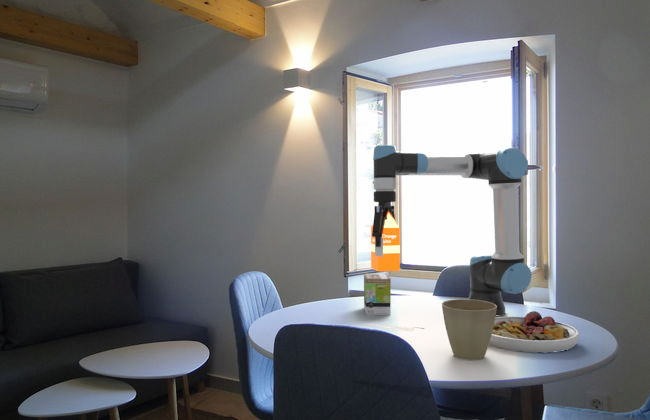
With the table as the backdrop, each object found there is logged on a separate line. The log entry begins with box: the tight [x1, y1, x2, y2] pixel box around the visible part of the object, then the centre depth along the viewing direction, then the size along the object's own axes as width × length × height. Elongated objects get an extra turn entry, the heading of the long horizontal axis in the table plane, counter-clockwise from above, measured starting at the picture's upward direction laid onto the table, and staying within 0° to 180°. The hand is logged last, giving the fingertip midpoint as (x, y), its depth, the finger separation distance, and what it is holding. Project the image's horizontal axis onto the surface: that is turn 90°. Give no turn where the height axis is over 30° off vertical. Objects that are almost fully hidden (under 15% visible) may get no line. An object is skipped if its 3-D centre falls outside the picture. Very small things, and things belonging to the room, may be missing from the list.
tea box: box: [363, 273, 392, 316], centre depth 208 cm, size 15×10×15 cm
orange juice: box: [370, 212, 401, 272], centre depth 176 cm, size 8×9×20 cm
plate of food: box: [489, 311, 580, 353], centre depth 161 cm, size 30×30×8 cm
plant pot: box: [441, 298, 497, 361], centre depth 144 cm, size 15×15×16 cm
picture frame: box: [367, 323, 425, 332], centre depth 175 cm, size 24×18×1 cm
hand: (384, 254), depth 176 cm, fingers closed on orange juice, 11 cm apart
